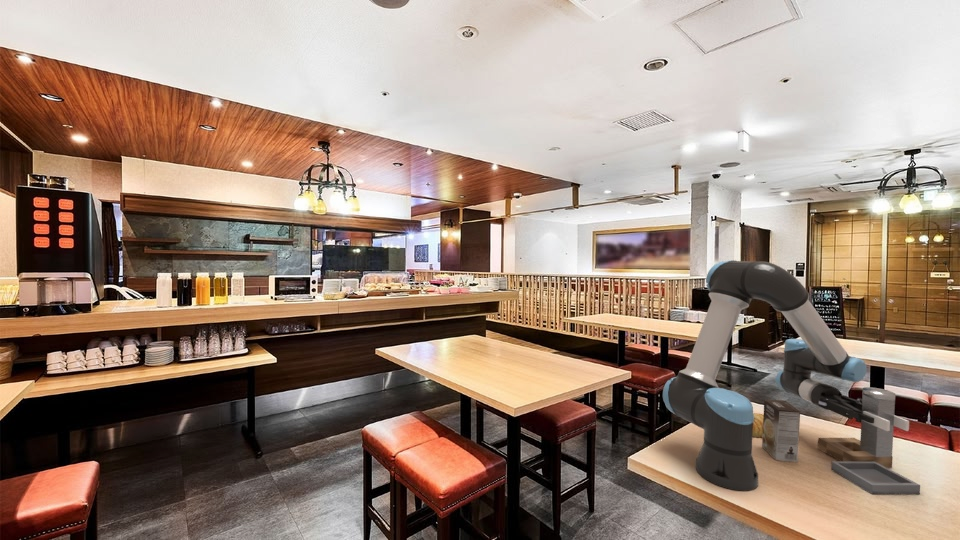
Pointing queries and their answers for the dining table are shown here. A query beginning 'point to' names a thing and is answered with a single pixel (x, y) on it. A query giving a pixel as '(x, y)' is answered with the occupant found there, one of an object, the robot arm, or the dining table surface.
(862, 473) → the tray
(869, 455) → the block
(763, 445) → the coffee box
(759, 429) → the croissant
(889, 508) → the dining table surface
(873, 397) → the pin
